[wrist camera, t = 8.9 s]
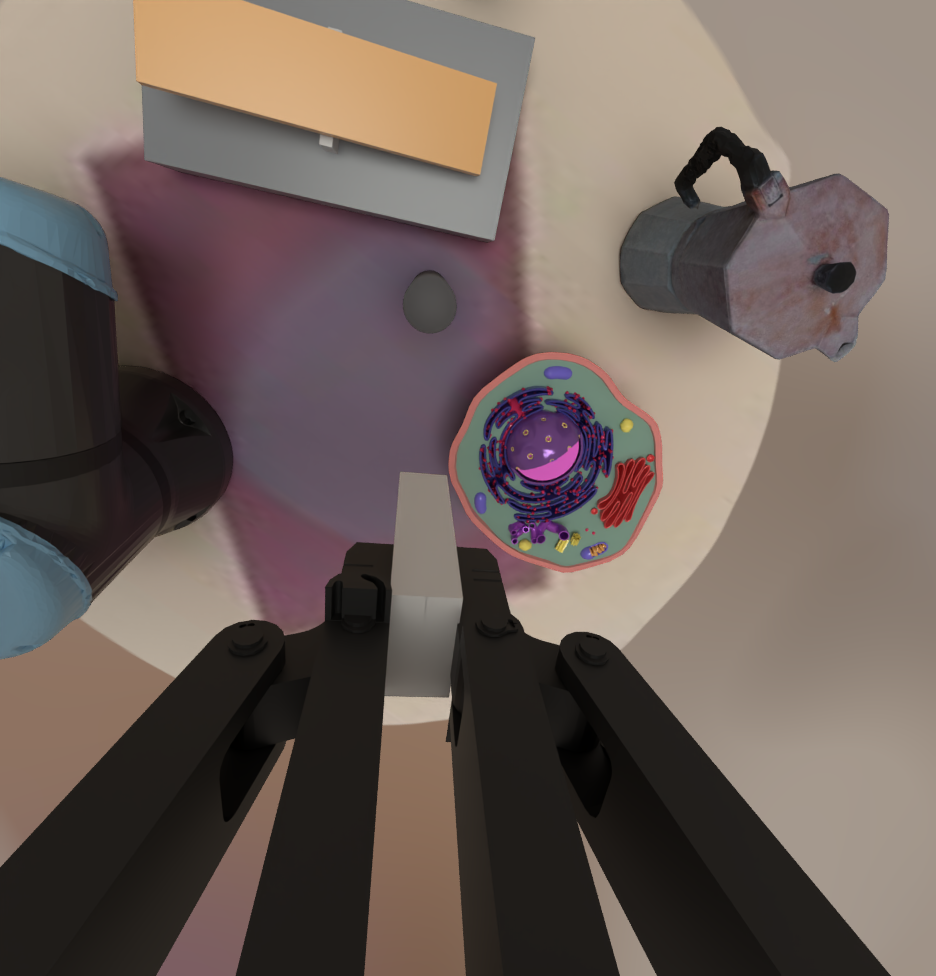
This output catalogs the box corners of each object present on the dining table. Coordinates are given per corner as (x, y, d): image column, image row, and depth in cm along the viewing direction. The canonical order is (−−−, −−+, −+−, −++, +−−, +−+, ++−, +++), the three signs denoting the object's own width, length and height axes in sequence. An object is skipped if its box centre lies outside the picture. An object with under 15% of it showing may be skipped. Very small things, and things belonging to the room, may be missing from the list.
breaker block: (177, 171, 39) (126, 153, 32) (174, -35, 34) (113, -105, 28) (487, 242, 42) (498, 239, 36) (522, 64, 38) (542, 23, 31)
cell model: (508, 557, 55) (527, 626, 45) (413, 394, 47) (409, 433, 37) (657, 485, 53) (712, 541, 42) (583, 302, 45) (628, 315, 35)
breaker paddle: (142, 85, 30) (136, 80, 29) (138, -27, 28) (131, -36, 27) (476, 176, 35) (480, 174, 34) (493, 87, 33) (497, 83, 32)
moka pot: (672, 361, 47) (824, 425, 29) (563, 229, 42) (663, 207, 24) (759, 281, 45) (983, 296, 27) (654, 132, 40) (843, 25, 22)
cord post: (409, 304, 44) (399, 327, 29) (414, 266, 43) (407, 271, 28) (443, 311, 44) (451, 338, 30) (450, 274, 43) (461, 283, 29)
